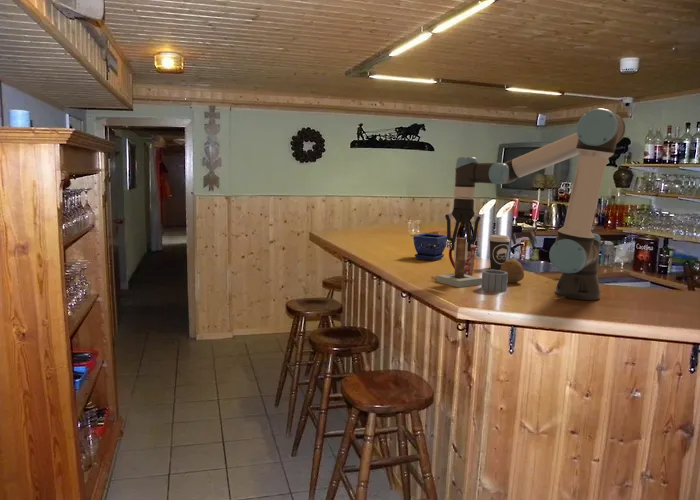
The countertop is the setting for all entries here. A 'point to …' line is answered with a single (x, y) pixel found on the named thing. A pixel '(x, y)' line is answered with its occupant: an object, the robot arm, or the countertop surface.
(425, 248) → the flower pot
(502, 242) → the coffee cup
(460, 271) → the brown wooden bar
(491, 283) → the cup
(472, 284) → the socket block
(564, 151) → the robot arm
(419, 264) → the countertop surface
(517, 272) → the brown rounded lump
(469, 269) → the mug
